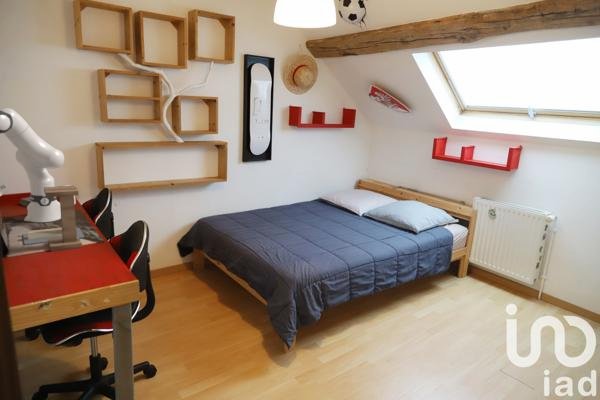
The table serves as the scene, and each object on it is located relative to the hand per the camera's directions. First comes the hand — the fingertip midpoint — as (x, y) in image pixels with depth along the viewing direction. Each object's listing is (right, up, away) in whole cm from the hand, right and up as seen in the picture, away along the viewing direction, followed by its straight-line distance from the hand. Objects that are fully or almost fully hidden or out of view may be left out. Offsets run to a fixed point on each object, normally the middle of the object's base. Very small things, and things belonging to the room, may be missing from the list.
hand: (5, 187), depth 181 cm
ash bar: (+12, -22, +15) cm, 29 cm away
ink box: (-12, -9, +70) cm, 71 cm away
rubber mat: (+12, -23, +15) cm, 30 cm away
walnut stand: (+23, -26, +5) cm, 35 cm away
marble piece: (-29, -9, +67) cm, 74 cm away
